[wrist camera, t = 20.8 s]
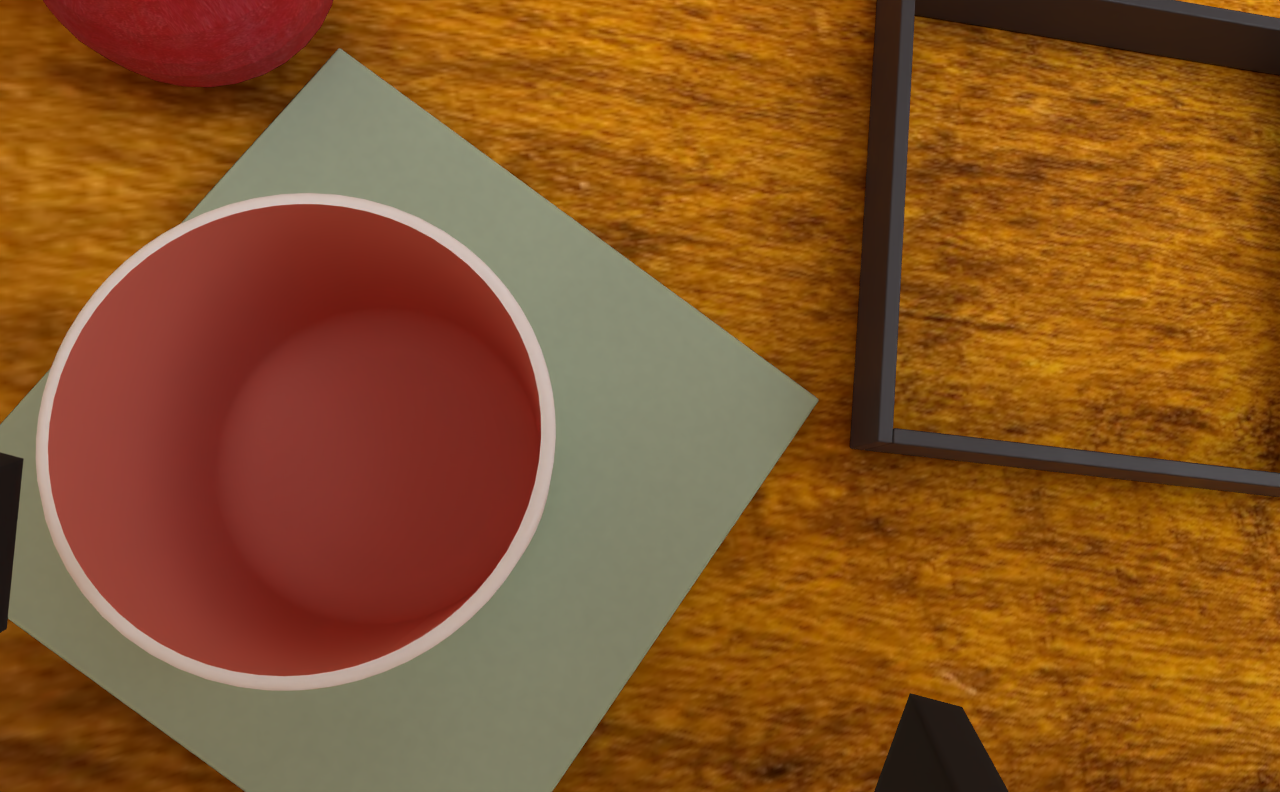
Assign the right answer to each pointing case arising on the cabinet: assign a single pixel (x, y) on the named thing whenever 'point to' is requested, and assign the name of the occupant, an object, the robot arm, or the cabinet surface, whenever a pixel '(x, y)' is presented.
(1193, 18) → the square frame
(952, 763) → the robot arm
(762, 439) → the mat
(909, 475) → the cabinet surface
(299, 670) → the cup
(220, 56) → the tomato
